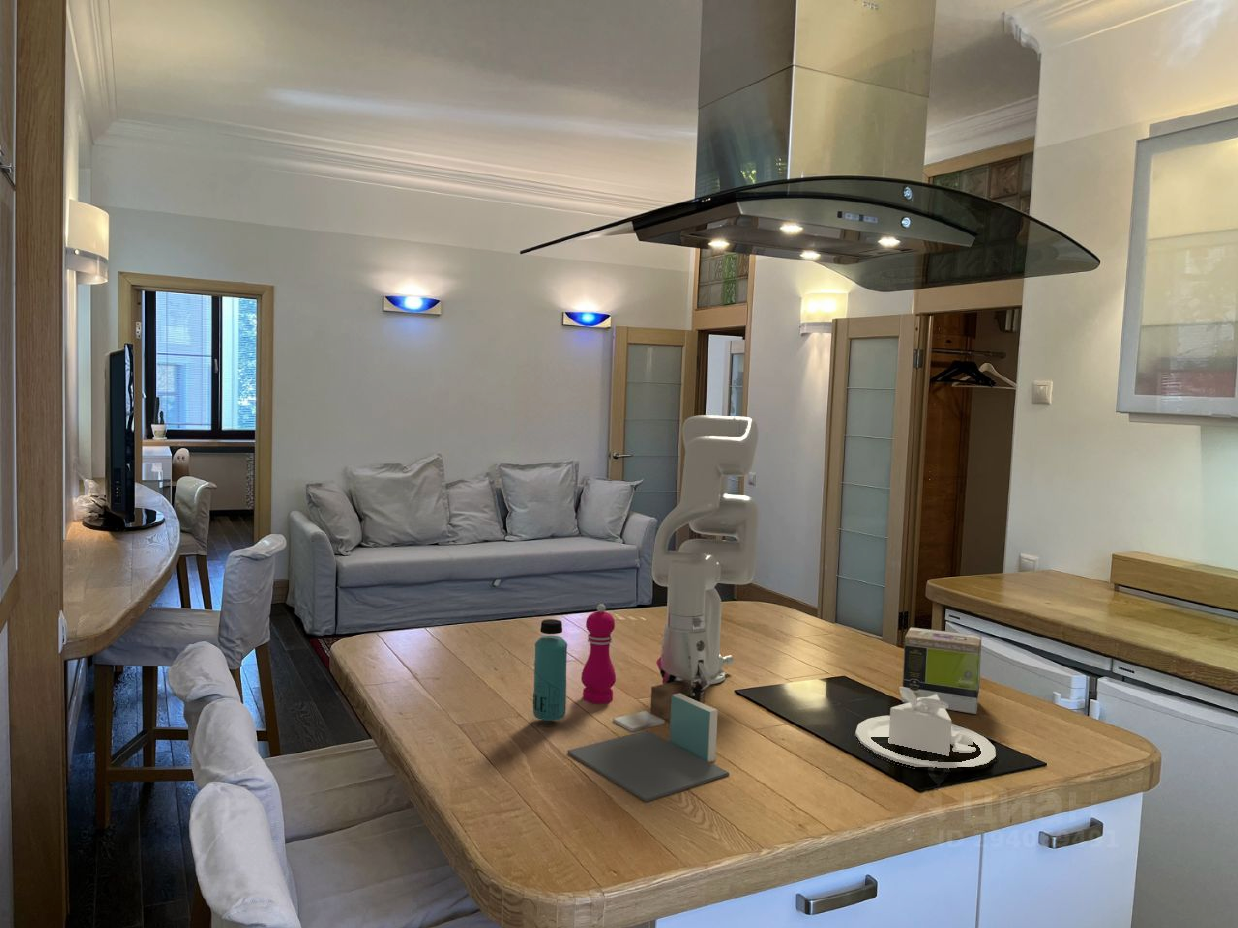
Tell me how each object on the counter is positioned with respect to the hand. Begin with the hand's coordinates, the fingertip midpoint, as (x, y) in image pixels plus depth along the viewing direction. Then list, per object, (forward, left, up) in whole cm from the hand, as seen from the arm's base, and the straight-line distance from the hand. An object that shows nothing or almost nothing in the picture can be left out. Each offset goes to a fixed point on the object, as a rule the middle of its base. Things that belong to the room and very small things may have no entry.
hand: (681, 707), depth 175 cm
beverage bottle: (+26, -9, -1) cm, 28 cm away
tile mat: (+22, +16, -1) cm, 27 cm away
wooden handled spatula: (+6, 0, -1) cm, 6 cm away
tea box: (-52, +25, -1) cm, 58 cm away
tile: (+11, +16, -1) cm, 20 cm away
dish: (-28, +37, -1) cm, 46 cm away
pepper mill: (+10, -15, -1) cm, 18 cm away
